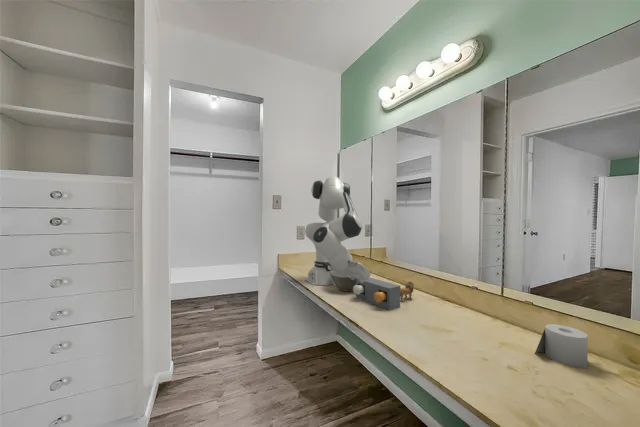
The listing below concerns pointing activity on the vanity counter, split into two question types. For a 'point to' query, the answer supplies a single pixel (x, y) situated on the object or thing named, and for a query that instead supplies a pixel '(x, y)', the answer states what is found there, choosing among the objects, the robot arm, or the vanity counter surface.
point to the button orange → (380, 296)
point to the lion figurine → (407, 290)
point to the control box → (380, 286)
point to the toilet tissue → (565, 345)
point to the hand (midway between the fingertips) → (358, 279)
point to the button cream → (359, 289)
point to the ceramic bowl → (342, 281)
